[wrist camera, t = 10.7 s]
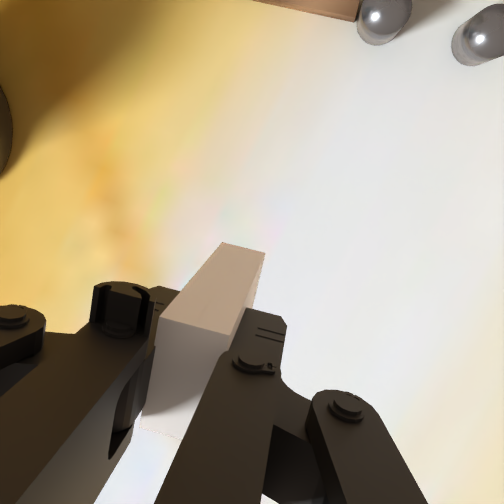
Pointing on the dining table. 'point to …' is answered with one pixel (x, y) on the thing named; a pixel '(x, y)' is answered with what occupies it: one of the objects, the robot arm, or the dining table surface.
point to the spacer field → (464, 39)
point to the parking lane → (321, 7)
